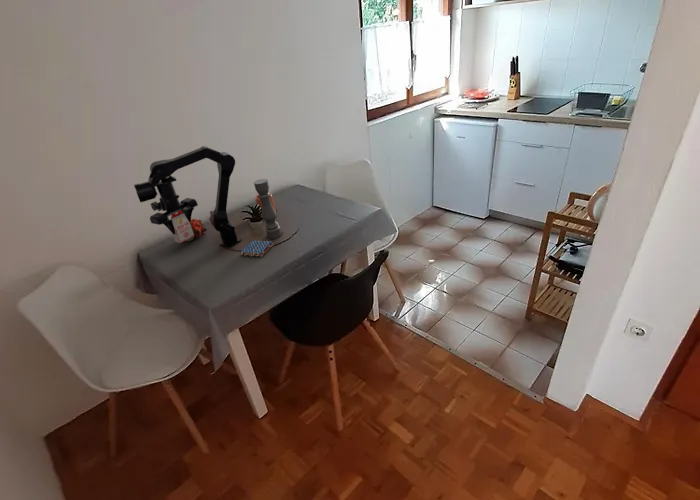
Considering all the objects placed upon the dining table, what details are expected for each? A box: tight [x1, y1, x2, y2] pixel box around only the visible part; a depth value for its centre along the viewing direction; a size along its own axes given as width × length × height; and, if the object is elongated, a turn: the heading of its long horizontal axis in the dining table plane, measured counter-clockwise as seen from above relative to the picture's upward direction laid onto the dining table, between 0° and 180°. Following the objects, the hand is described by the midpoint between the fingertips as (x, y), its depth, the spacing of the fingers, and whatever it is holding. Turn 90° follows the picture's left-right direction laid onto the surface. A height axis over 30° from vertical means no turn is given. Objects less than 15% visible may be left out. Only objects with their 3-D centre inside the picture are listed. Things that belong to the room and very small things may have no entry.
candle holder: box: [253, 178, 282, 240], centre depth 175 cm, size 6×6×25 cm
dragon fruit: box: [190, 218, 207, 239], centre depth 190 cm, size 8×8×12 cm
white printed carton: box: [169, 213, 194, 244], centre depth 168 cm, size 4×7×10 cm, turn 143°
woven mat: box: [239, 239, 274, 258], centre depth 171 cm, size 10×11×2 cm
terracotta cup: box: [254, 192, 277, 213], centre depth 202 cm, size 8×8×9 cm
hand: (181, 229), depth 168 cm, fingers closed on white printed carton, 7 cm apart
